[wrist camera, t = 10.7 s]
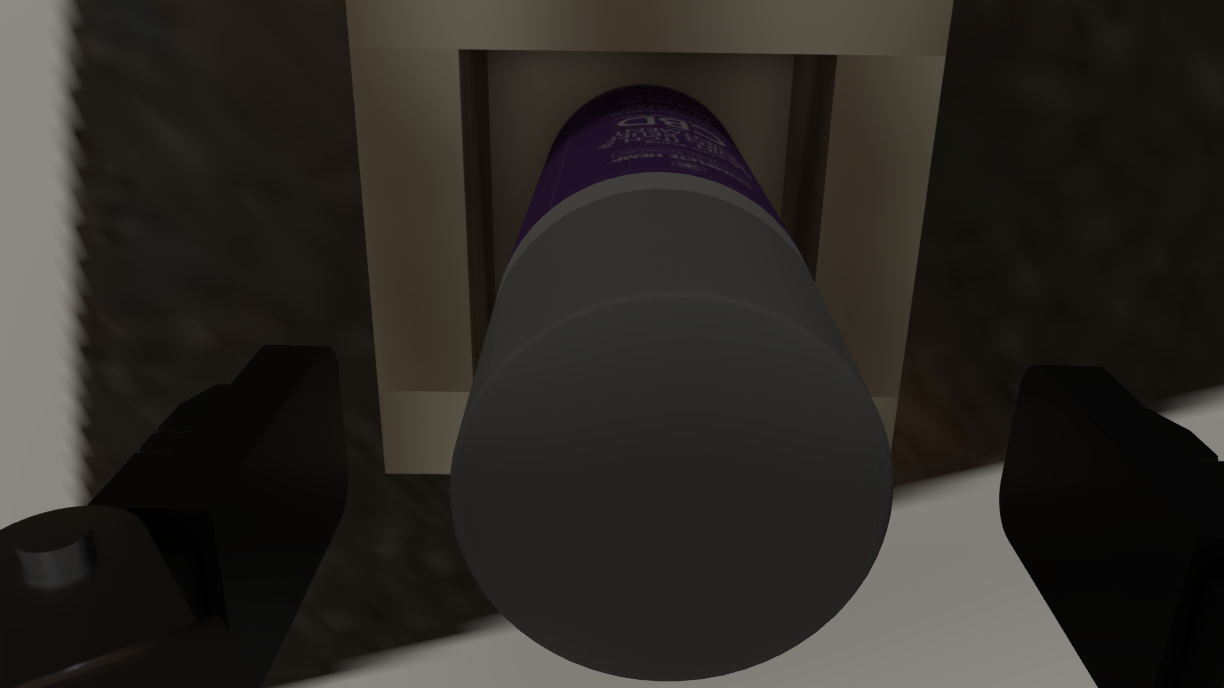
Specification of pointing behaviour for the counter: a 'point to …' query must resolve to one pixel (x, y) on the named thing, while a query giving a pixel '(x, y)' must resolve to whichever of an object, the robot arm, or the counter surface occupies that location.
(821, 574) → the container
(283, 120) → the counter surface
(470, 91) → the socket block
